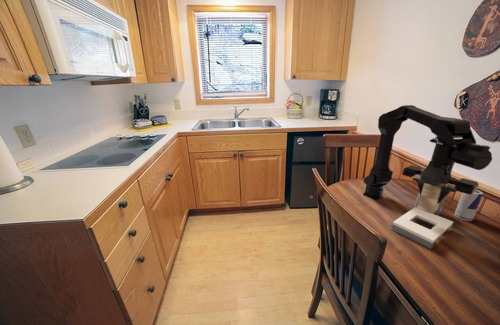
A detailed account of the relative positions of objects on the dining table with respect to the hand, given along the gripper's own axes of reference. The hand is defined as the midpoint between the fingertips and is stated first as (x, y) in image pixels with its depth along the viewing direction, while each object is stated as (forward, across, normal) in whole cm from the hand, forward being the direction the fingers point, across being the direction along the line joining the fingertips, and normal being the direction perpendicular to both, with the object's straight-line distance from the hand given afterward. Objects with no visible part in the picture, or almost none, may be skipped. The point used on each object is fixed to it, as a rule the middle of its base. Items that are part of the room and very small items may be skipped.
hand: (429, 200), depth 73 cm
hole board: (+12, 0, 0) cm, 13 cm away
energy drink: (+13, +6, +23) cm, 27 cm away
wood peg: (+4, 0, 0) cm, 4 cm away
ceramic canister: (+12, -4, +16) cm, 21 cm away
